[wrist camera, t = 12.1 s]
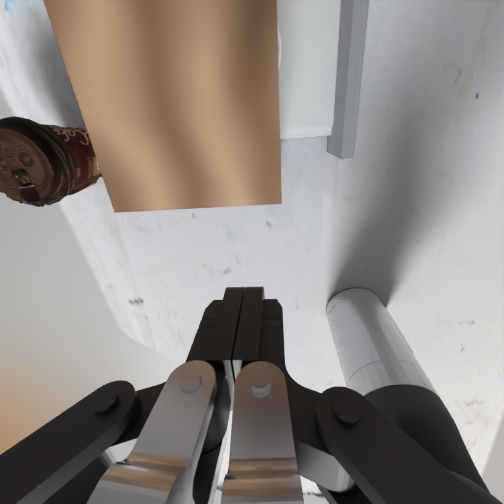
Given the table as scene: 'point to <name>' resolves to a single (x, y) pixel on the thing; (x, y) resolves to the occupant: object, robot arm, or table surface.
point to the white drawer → (321, 70)
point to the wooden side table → (177, 98)
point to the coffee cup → (44, 161)
